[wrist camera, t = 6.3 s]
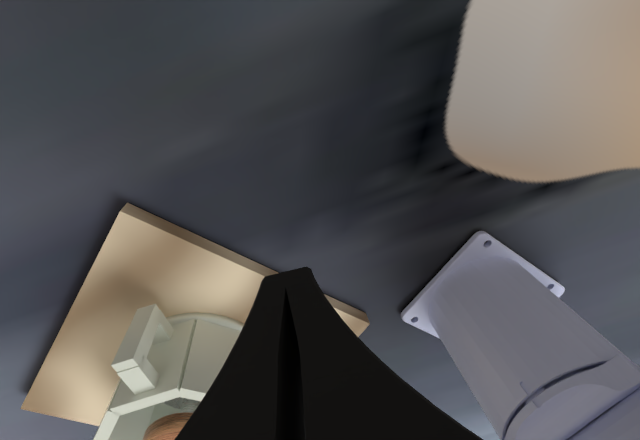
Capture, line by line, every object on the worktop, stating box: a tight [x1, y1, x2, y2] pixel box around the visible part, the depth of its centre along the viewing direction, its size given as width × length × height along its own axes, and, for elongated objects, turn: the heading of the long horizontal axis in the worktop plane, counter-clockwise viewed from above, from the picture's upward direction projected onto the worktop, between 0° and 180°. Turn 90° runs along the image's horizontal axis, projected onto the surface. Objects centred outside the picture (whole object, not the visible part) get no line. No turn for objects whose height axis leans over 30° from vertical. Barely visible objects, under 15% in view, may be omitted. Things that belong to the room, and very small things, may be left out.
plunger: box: [143, 397, 201, 440], centre depth 19 cm, size 6×6×6 cm
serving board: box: [21, 203, 370, 426], centre depth 22 cm, size 16×16×1 cm
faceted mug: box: [93, 303, 244, 440], centre depth 19 cm, size 11×9×5 cm
